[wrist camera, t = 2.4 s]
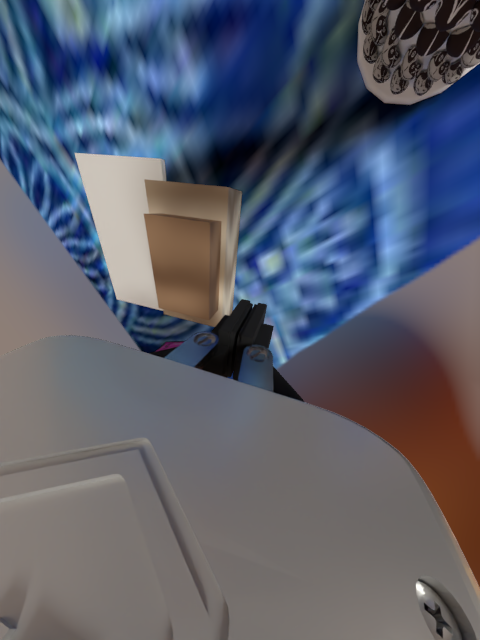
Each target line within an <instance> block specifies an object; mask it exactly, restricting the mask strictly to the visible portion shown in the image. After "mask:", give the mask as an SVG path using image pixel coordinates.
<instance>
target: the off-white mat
mask: <svg viewBox="0 0 480 640" xmlns="http://www.w3.org/2000/svg"><path fill="white" fill-rule="evenodd" d="M75 157H76V160H77V164H78V167H79V170H80V174H81V177H82V181H83V184H84V188H85V191H86V195H87V198H88V201H89V205H90V208H91V212H92V215H93V219H94V222H95V226H96V229H97V232H98V236H99V239H100V243H101V246H102V250H103V253H104V257H105V260H106V263H107V267H108V270H109V274H110V277H111V281H112V284H113V288H114V291H115V294H116V298H117V300H121V301H125V302H129V303H133V304H137V305H141V306H145V307H149V308H153V309H157V310H161V311H163V309H161V308H159V306H158V300H157V294H156V288H155V281H154V275H153V269H152V263H151V256H150V250H149V244H148V238H147V231H146V225H145V219H144V214H149V208H148V202H147V195H146V188H145V181H144V179H147V180H157V181H166V171H165V160H163V159H157V158H142V157H127V156H112V155H97V154H82V153H75Z"/></svg>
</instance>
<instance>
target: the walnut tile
mask: <svg viewBox="0 0 480 640" xmlns="http://www.w3.org/2000/svg"><path fill="white" fill-rule="evenodd" d="M144 219H145V225H146V231H147V238H148V244H149V250H150V256H151V263H152V269H153V275H154V281H155V288H156V294H157V300H158V306H159V308H161V309H165V310H169V311H173V312H177V313H181V314H185V315H189V316H193V317H197V318H201V319H205V320H210V319H211V318H212V317H213V315H214V314H215V313H216V312H217V311H218V306H219V279H220V251H221V223H222V221H216V220H208V219H201V218H193V217H186V216H178V215H171V214H163V213H156V214H144Z"/></svg>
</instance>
